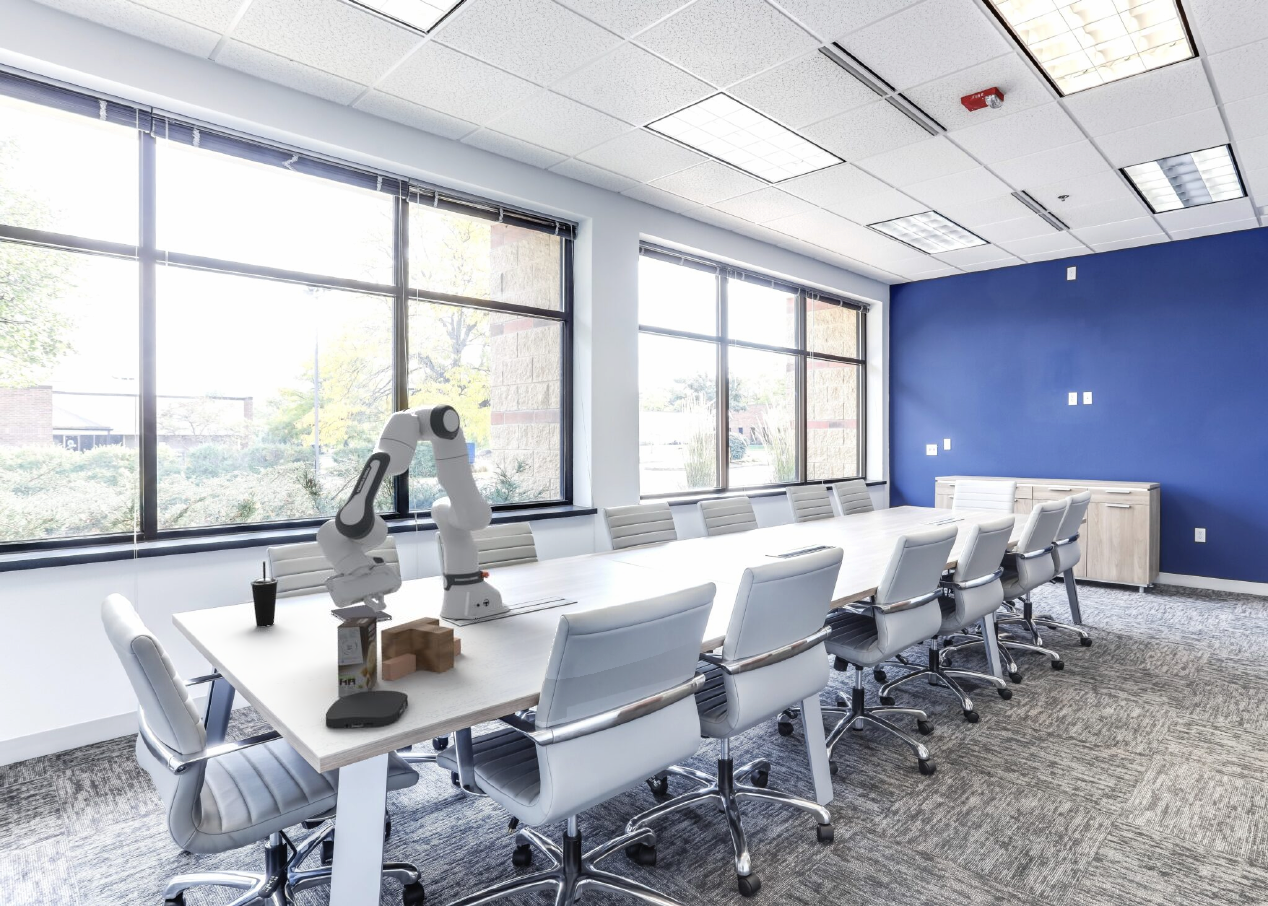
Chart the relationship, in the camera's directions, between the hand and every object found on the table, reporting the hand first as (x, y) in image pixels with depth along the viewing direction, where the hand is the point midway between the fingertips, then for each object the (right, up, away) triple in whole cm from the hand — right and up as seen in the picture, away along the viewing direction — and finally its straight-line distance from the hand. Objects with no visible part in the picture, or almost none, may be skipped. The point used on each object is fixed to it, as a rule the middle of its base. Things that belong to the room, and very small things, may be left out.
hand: (381, 609), depth 186 cm
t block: (+14, -13, -9) cm, 21 cm away
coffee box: (+4, -13, -25) cm, 29 cm away
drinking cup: (-48, -12, +32) cm, 59 cm away
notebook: (-22, -12, +42) cm, 49 cm away
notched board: (+14, -12, -8) cm, 20 cm away
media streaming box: (+12, -14, -39) cm, 43 cm away
